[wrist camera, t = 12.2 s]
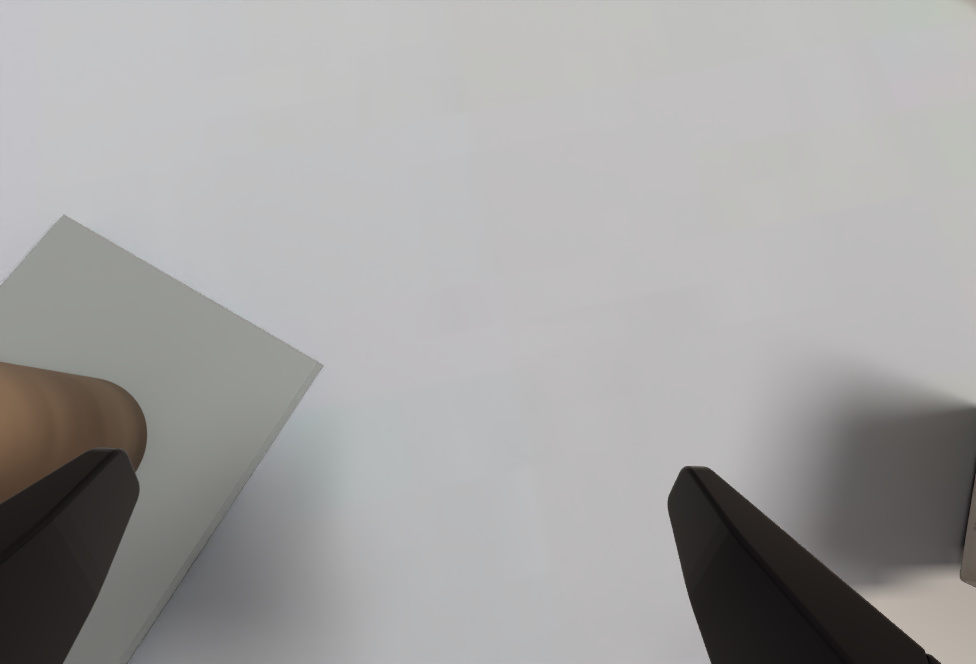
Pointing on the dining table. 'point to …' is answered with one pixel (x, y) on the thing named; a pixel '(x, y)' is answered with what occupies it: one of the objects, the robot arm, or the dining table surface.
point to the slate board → (153, 405)
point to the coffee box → (970, 546)
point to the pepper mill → (60, 422)
